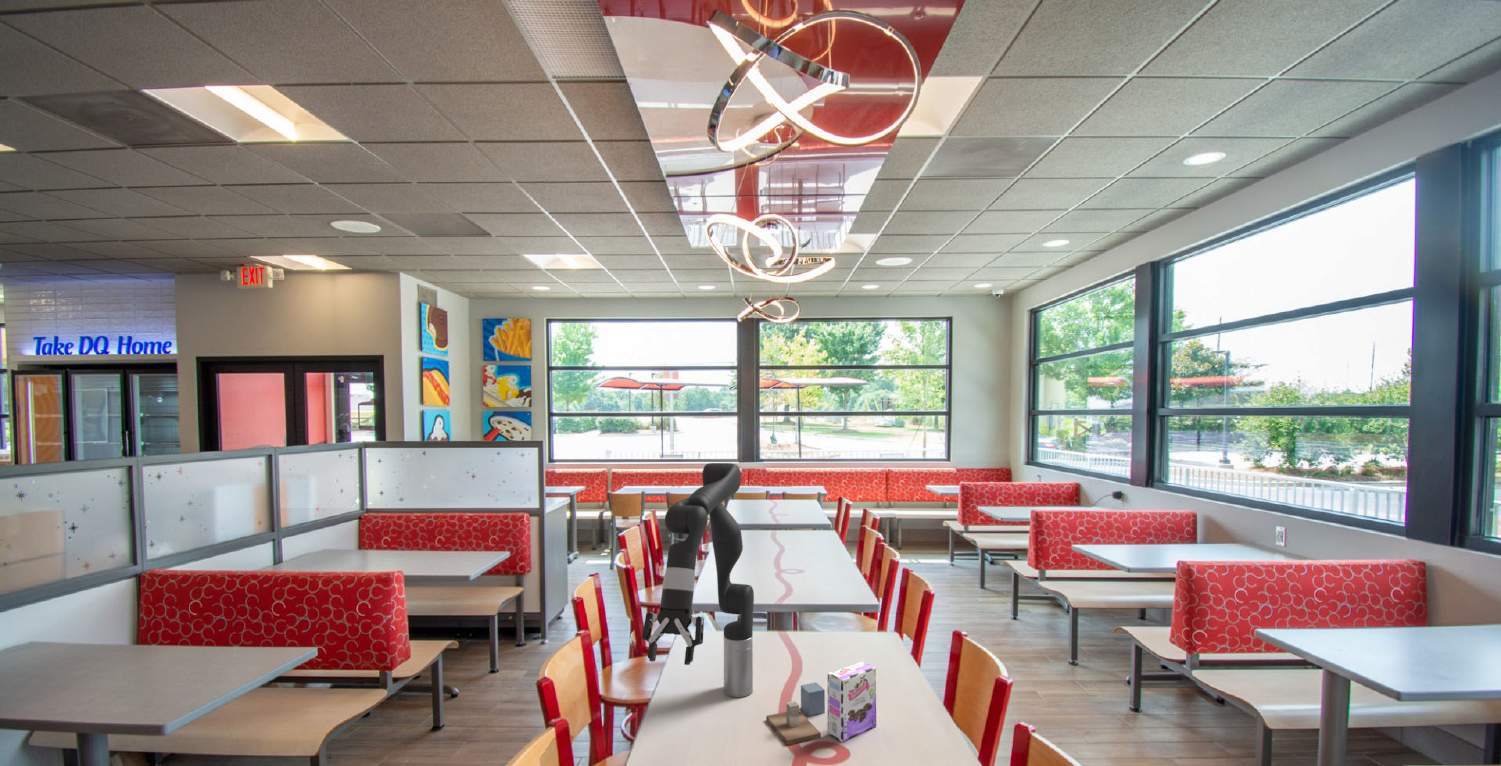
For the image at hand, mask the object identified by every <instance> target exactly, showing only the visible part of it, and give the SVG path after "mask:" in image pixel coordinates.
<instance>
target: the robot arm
mask: <svg viewBox="0 0 1501 766" xmlns="http://www.w3.org/2000/svg"><path fill="white" fill-rule="evenodd" d="M701 474H702V475H701V476H702V477H701V478H702V486H701V487H699V488H697V489H696V490H695V491H693V492H692V493H691V495H689V496H688V497H686V498H683V499H682V500H679V501H677V502H676V503H673V504H672V505H670V507H669V508H668V509H667V511H666V513H665V517H664V525H665V527H666V529H667V531H668V532H670V533H672V534H675V535H676V534H677V535H687V537H686V538H685V539H684V540H683V541H680V542H677V543H672V544H670V545H669V547H668V551H667V559H666V565H665V566H666V568H665V572H664V576H663V581H662V588H661V589H662V591H661V597H660V604H659V612H658V613H654V612H647V613H645V619H644V623H643V624H644V625H643V628H642V633H641V639H642V640H645V641H647V642H648V652H647V658H648V659H649V662H656V657H657V652H658V651H657V650H658V643H657V642H658V641H659V640H660V639H661V638H662V637H663V636H664V635H665V634H666V635H672V634H673V635H677V636H681V637H682V638H683V640H684V641H685V643H686V647H685V654H684V655H685V656H684V662H683V663H684V665H685V666H691V665H690V664H691V663H693V661H694V652H695V647H697V646H699V645H702V644H703V643H704V628H705V626H704V624H705V619H704V616H700V615H699V616H693V615H692V609H693V603H694V595H695V593H694V591H695V581H696V565H697V556H698V551H699V548H700V544H701V542H702V539H703V536H704V534H705V531H706V529H707V525H708V521H709V522H710V532H711V542H712V549H713V555H714V560H715V567H716V577H717V578H716V581H717V582H716V584H717V598H718V606H719V610H720V611H721V612H722V613H723V614H729V615H730V614H731V615H739V616H740V619H737V620H736V621H735V620H734V621H731V622H729V623H727V624H725V626H724V627H723V692H724V694H725V695H726V696H729V697H732V698H743V697H747V696H749V695H751V694H752V693H753V692H754V689H753V688H754V682H753V679H754V675H753V674H754V671H753V669H754V666H753V663H754V662H753V661H754V660H753V659H754V655H753V654H754V651H753V650H754V649H753V646H754V645H753V644H754V643H753V642H754V641H753V635H754V634H753V631H754V629H753V627H754V605H755V604H754V602H755V594H754V589H753V586H752V585H750V584H745V583H744V584H743V583H733V582H731V578H730V577H731V574H732V571H733V569H734V567H735V565H736V564H737V562H738V560H739V559H740V556H741V555H742V552H743V548H744V545H743V537H742V529H741V526H740V525H739V523H738V521H737V520H736V519H735V518H734V517H733V515H731V513H730V512H729V510H727V508H726V506H725V505H724V503H723V502H724V501H725V500H727V499H728V498H730V497H732V496H733V495H735V494H736V493H737V492H738V491H739V489H740V487H741V484H742V473H741V469H740V467H739V466H738V465H737V464H735V463H731V462H727V463H726V462H723V463H722V462H712V463H707V464H705V465H704V467H703V469H702V473H701ZM708 516H709V517H708ZM656 621H657V622H658V623H659V625H658V626H657V628H656V629H655V630H654V632H653V633H652V631H653V625H654V623H655V622H656ZM691 624H693V627H695V629H694V631H695V635H694V638H693V636H692V633H691V631H690V629H689V627H690V626H691Z"/></svg>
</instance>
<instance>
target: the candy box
mask: <svg viewBox="0 0 1501 766" xmlns="http://www.w3.org/2000/svg"><path fill="white" fill-rule="evenodd" d="M876 675H877V674H876V667H875V666H873V665H870V664H868V663H865V662H863V661H859V662H857V663H854V664H851V665H848V666H845V667H842V668H840V669H839V668H838V669H837V670H834V671H831V672H827V734H829V735H830V736H832V737H833V738H835V739H836V740H838V741H840V742H841V743H843V742H845V741H848V740H850V739H852V738H854V737H856V736H859V735H861V734H863V733H866V732H867V731H870V730H872V729H874V728H877V689H876V688H877V686H876V685H877V684H876V681H877V679H876Z"/></svg>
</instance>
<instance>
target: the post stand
mask: <svg viewBox="0 0 1501 766" xmlns="http://www.w3.org/2000/svg"><path fill="white" fill-rule="evenodd" d="M785 703H786V709H785V710H786V711H784V712H778V713H774V714H769V715H766V718H765V719H766V720H765V721H767V723H768V724H769V725H770V726H771V728H772V729H773V730H774V731H775V732H776V734H778V736H779V737H780V738H781V739H782V740H783V742H784V743H785V745H787V746H790V745H794V744H799V743H803V742H807V741H811V740H817V739H821V737H822V736H821V735H822V733H821V732H820V730H818V729H817V727H816V726H815V725H814V724H812V722H811V721H810V720H809V719H808V718H807V717H806V716H805V715H804V714H803V713H802V712H801V711H800V705H799V704H798V702H796V701H795V700H793V701H789V702H788V701H787V702H785ZM816 738H817V739H816Z"/></svg>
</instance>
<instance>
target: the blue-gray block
mask: <svg viewBox="0 0 1501 766" xmlns="http://www.w3.org/2000/svg"><path fill="white" fill-rule="evenodd" d="M825 691H826V690H825V689H824V688H823V686H821V685H820V684H819V683H817V682H812V683H810V682H809V683H805V684H801V685H800V709H801V710H803V712H804V713H805V714H806V715H807V716H808V717H811V716H815V715H821V714H825V713H826V709H825V708H826V707H825V704H826V701H825V700H826V695H825Z"/></svg>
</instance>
